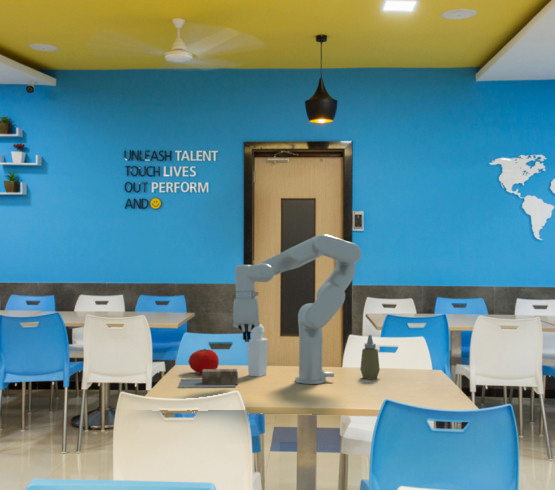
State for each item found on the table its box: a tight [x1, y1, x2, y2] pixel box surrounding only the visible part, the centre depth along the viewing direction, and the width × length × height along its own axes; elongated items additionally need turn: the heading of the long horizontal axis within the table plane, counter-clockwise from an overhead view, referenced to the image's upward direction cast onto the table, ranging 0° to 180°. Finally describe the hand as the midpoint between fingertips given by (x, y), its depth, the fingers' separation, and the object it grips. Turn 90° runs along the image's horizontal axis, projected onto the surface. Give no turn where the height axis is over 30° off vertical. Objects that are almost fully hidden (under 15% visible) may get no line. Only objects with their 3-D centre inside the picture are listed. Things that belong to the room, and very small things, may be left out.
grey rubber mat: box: [177, 378, 236, 389], centre depth 231 cm, size 22×14×1 cm, turn 94°
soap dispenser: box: [247, 323, 269, 378], centre depth 250 cm, size 6×6×22 cm
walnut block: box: [201, 368, 239, 385], centre depth 231 cm, size 5×5×14 cm
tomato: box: [188, 348, 220, 374], centre depth 253 cm, size 13×12×11 cm
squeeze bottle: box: [360, 334, 381, 380], centre depth 245 cm, size 8×8×18 cm
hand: (246, 341), depth 233 cm, fingers closed
